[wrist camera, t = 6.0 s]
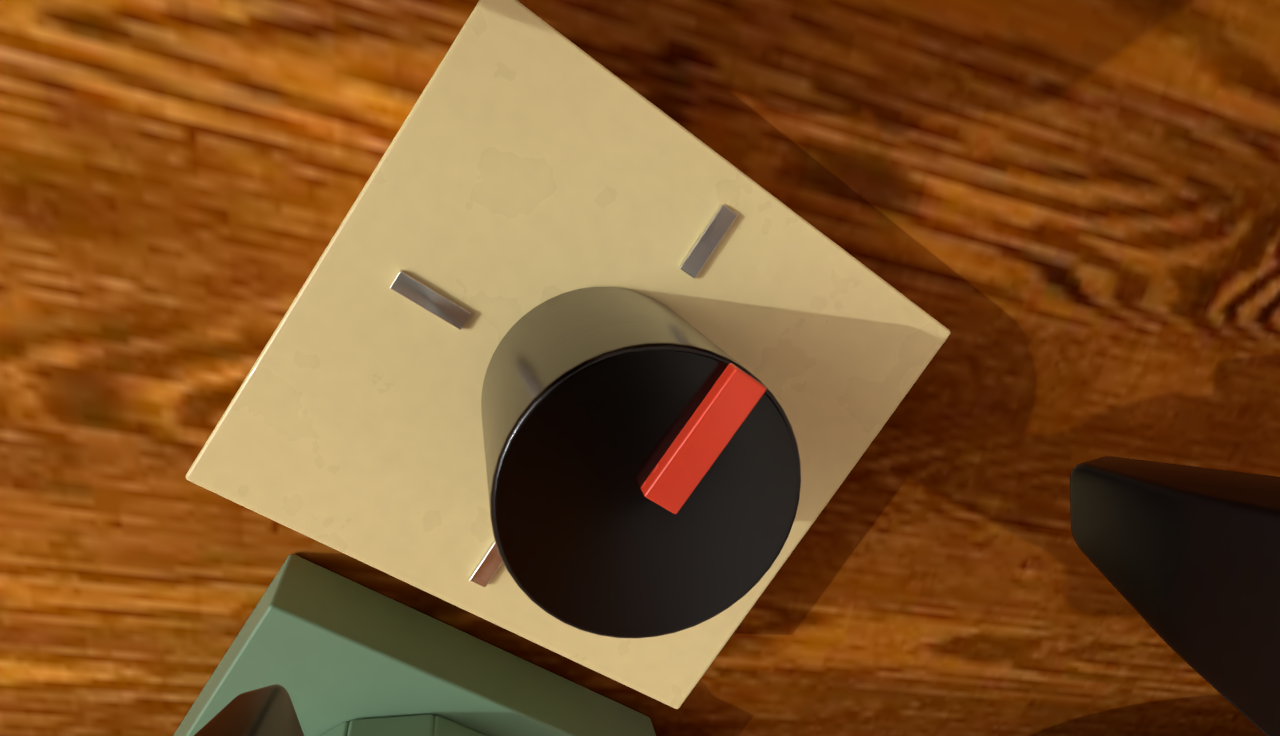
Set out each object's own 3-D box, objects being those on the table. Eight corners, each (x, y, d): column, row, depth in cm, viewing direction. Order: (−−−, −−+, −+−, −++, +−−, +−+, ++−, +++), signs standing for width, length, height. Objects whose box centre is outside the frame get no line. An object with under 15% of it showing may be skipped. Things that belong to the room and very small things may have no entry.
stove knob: (625, 544, 16) (690, 699, 12) (434, 437, 15) (423, 566, 10) (754, 366, 16) (871, 456, 11) (569, 238, 14) (620, 282, 10)
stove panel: (228, 423, 17) (179, 483, 14) (485, 8, 16) (491, -23, 13) (647, 633, 21) (680, 716, 18) (881, 304, 20) (957, 334, 17)
